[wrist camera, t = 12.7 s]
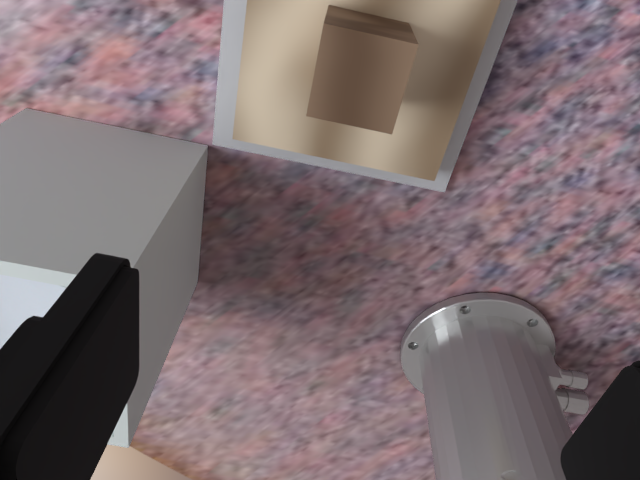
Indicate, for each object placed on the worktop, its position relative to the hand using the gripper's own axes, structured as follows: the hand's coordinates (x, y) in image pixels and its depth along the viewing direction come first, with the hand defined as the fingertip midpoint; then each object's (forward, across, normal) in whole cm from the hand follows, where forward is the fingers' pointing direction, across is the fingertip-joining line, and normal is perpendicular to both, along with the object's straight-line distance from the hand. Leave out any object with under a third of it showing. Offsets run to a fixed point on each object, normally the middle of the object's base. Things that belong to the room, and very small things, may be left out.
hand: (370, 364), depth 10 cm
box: (+25, +15, +14) cm, 32 cm away
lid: (+24, 0, -1) cm, 24 cm away
